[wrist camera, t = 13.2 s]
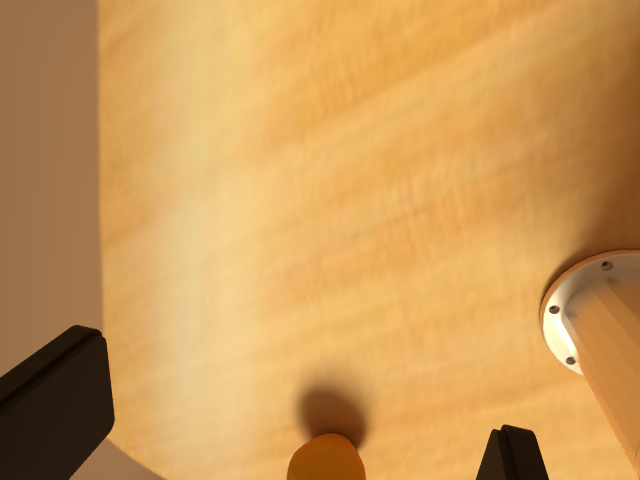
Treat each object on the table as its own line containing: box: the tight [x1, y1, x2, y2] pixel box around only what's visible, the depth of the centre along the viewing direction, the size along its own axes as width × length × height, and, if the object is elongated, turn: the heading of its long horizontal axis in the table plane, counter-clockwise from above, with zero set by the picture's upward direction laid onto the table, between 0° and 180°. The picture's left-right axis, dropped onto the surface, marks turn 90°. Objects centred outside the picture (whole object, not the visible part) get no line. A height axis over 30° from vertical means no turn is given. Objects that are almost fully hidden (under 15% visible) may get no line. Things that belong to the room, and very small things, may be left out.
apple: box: [287, 433, 366, 480], centre depth 46 cm, size 8×8×9 cm
